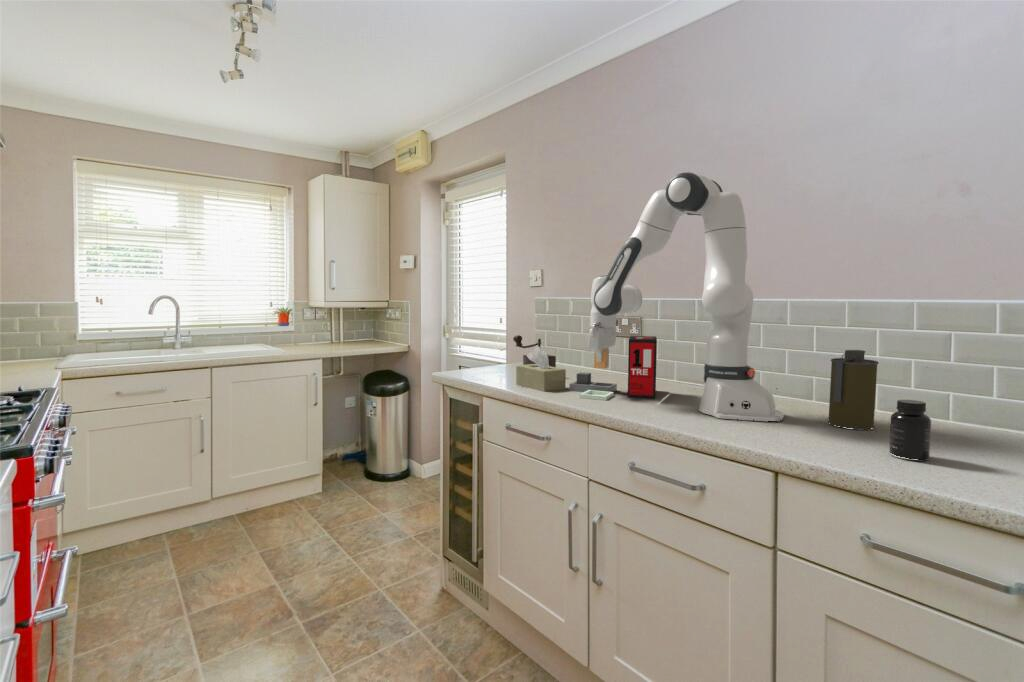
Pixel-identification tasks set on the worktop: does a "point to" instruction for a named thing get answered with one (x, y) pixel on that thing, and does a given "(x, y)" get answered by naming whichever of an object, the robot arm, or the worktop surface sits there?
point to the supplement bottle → (910, 430)
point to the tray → (596, 395)
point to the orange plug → (604, 362)
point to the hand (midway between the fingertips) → (601, 361)
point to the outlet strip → (593, 387)
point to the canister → (853, 391)
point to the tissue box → (540, 373)
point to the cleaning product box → (642, 367)
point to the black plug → (584, 378)
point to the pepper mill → (518, 340)
